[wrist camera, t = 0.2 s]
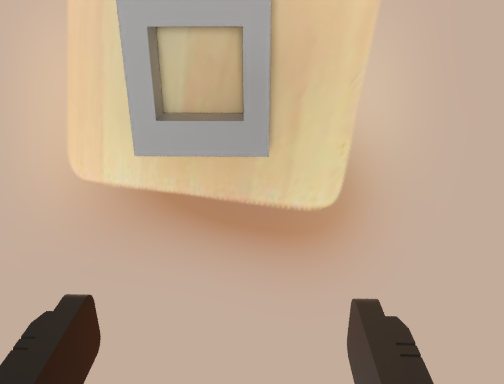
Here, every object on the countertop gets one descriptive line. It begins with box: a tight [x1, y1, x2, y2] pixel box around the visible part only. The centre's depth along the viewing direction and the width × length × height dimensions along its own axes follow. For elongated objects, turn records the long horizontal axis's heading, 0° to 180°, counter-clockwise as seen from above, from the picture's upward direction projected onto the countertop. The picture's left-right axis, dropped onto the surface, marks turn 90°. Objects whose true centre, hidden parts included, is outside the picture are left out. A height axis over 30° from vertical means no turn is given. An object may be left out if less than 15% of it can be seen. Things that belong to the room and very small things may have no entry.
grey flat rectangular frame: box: [116, 0, 271, 157], centre depth 36 cm, size 14×12×3 cm
